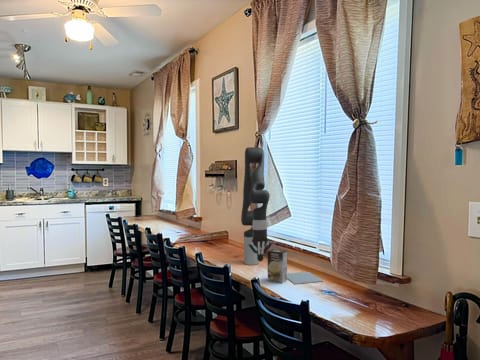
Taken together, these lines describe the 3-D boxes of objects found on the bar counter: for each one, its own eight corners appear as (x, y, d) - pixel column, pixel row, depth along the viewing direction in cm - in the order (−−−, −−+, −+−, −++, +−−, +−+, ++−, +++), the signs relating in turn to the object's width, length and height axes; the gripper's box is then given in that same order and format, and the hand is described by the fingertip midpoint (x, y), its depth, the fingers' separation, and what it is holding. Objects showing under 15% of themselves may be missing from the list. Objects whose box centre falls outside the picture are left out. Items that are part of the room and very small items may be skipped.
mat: (281, 274, 203) (281, 274, 203) (307, 272, 207) (307, 271, 207) (294, 284, 186) (294, 283, 186) (323, 281, 190) (323, 280, 190)
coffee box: (266, 280, 193) (266, 250, 192) (272, 277, 198) (271, 248, 198) (282, 283, 188) (282, 252, 188) (287, 280, 194) (287, 250, 193)
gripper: (269, 226, 195) (269, 258, 196) (245, 227, 192) (246, 260, 192) (274, 228, 188) (274, 261, 188) (249, 229, 185) (250, 263, 185)
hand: (260, 261), depth 190 cm, fingers closed
